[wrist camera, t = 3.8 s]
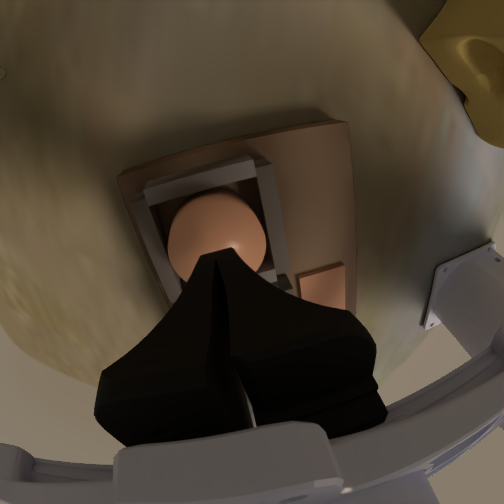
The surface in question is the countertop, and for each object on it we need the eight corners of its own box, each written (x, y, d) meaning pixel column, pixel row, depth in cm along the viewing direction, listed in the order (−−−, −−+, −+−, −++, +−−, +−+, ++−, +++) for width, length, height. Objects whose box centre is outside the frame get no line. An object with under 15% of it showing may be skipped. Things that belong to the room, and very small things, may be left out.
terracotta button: (247, 178, 14) (255, 190, 12) (264, 256, 16) (273, 276, 14) (159, 203, 13) (154, 219, 12) (186, 277, 16) (185, 299, 14)
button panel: (335, 119, 15) (362, 125, 12) (345, 366, 26) (357, 389, 23) (122, 170, 14) (107, 186, 12) (225, 401, 25) (229, 427, 23)
